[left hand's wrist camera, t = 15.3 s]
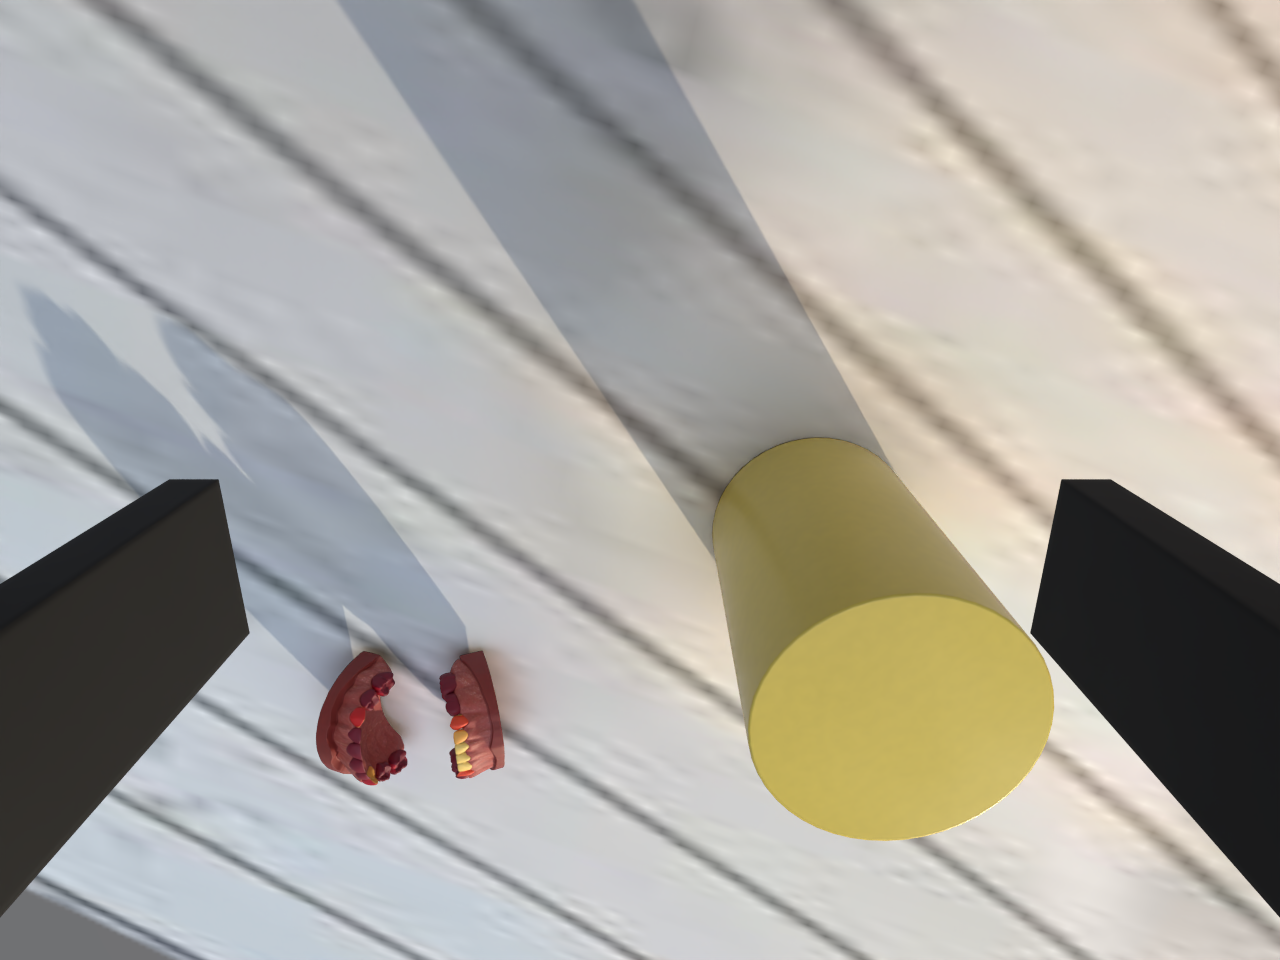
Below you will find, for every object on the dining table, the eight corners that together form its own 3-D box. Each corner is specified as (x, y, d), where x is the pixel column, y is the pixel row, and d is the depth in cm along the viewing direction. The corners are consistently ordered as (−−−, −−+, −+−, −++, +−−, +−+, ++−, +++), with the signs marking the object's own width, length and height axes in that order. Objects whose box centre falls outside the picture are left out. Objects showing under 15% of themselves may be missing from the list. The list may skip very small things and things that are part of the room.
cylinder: (818, 395, 31) (922, 532, 19) (950, 527, 33) (1117, 723, 21) (671, 533, 33) (684, 730, 22) (803, 648, 36) (881, 885, 24)
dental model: (504, 812, 33) (319, 812, 34) (520, 748, 37) (355, 748, 38) (494, 702, 32) (299, 702, 32) (512, 646, 36) (338, 646, 36)
